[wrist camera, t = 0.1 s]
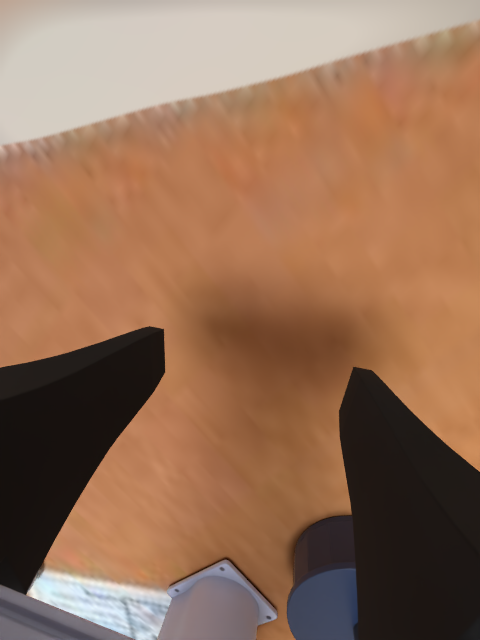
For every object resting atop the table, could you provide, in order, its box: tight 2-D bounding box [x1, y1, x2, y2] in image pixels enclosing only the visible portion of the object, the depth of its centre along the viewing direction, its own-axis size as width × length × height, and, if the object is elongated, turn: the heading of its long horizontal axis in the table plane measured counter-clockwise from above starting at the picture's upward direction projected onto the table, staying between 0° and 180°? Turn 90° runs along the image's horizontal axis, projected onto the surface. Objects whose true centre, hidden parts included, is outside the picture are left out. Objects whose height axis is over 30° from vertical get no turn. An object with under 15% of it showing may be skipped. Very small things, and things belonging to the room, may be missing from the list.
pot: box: [293, 516, 355, 586], centre depth 23 cm, size 11×11×4 cm
